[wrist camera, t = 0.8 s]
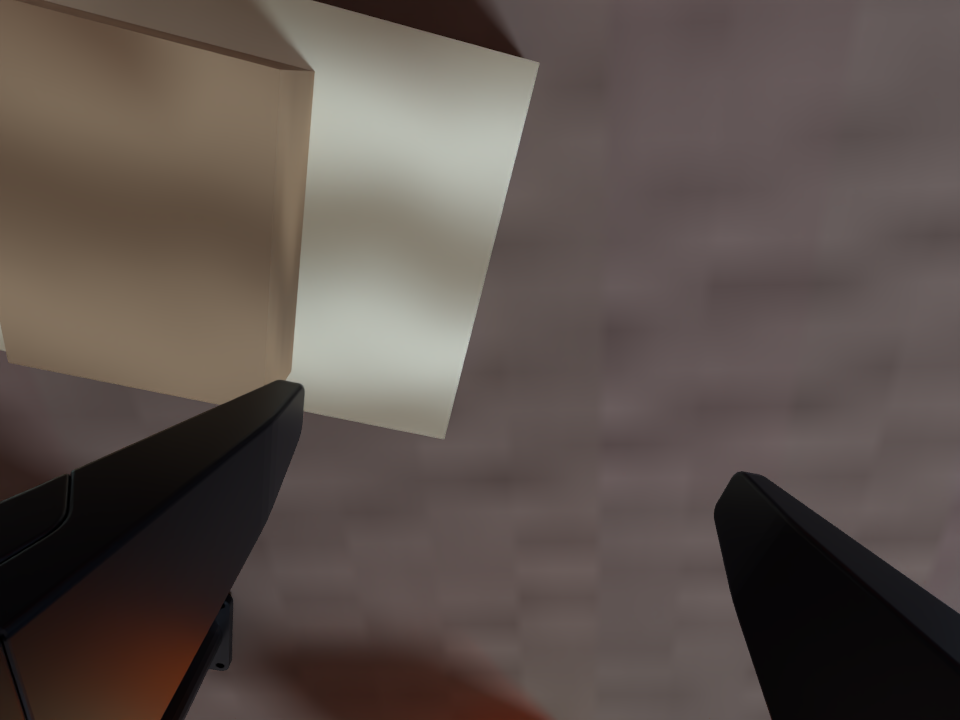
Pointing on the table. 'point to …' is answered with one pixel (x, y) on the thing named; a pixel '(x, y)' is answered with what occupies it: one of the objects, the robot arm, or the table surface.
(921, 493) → the table surface
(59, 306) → the walnut block
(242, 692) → the table surface
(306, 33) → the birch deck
